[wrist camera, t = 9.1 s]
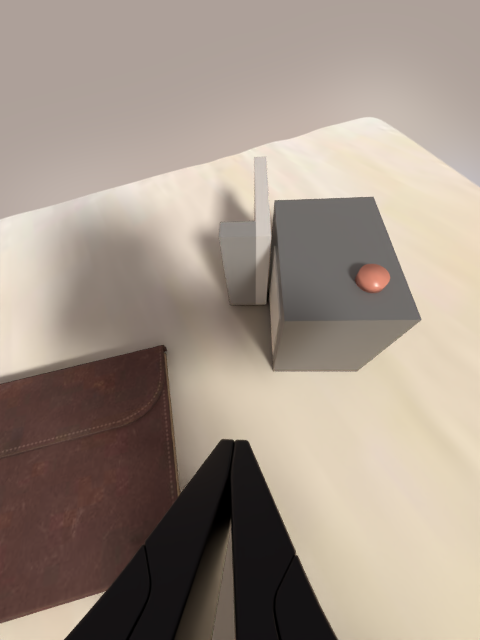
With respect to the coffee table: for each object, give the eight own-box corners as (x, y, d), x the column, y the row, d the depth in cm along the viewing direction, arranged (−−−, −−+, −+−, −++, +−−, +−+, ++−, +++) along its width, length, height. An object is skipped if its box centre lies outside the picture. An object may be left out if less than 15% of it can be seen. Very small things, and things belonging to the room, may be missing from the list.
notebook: (190, 560, 16) (182, 573, 14) (-139, 660, 14) (-194, 689, 13) (168, 350, 23) (161, 341, 21) (-53, 403, 22) (-80, 399, 20)
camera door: (265, 304, 24) (271, 235, 16) (229, 305, 24) (218, 237, 16) (263, 235, 28) (266, 156, 21) (232, 235, 28) (225, 158, 21)
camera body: (356, 371, 20) (428, 313, 12) (271, 371, 21) (283, 315, 12) (333, 266, 26) (372, 176, 17) (266, 268, 26) (272, 180, 18)
